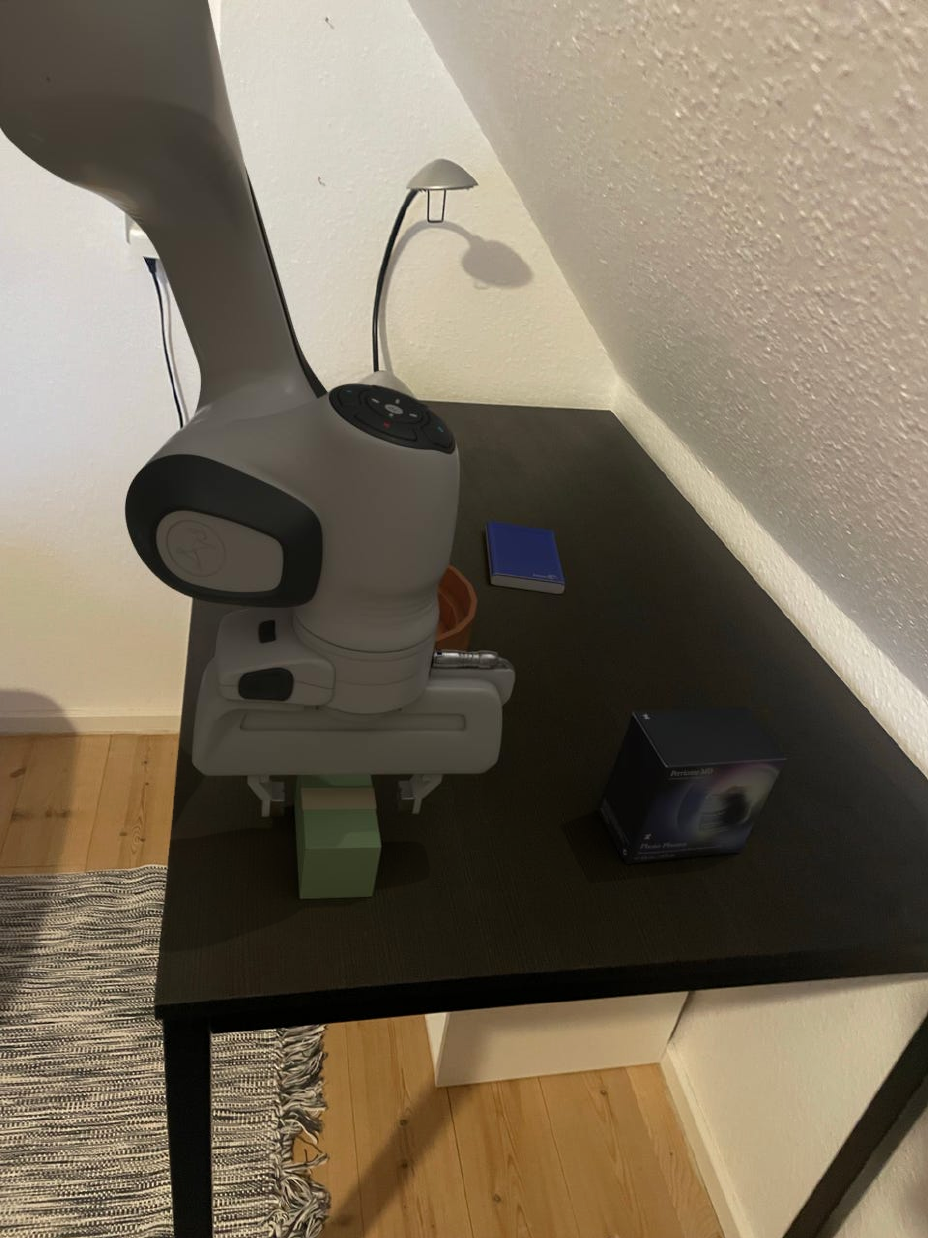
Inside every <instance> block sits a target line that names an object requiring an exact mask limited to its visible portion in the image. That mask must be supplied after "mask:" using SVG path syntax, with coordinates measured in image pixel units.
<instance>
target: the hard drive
mask: <svg viewBox="0 0 928 1238" xmlns="http://www.w3.org/2000/svg"><path fill="white" fill-rule="evenodd" d="M485 539H486V549H487V559H488V569H489V578H490V584H491V585H493V586H498V587H504V588H511V589H512V588H513V589H519V590H527V591H534V592H541V593H548V594H555V595H561V594H564V592H565V587H566V581H565V577H564V574H563V569H562V564H561V561H560V556H559V552H558V547H557V543H556V540H555V533H554V531H552V530H550V529H545V528H538V527H533V526H532V527H531V526H525V525H519V524H511V523H504V522H497V521H487V522H486V526H485Z"/></svg>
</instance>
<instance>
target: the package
mask: <svg viewBox="0 0 928 1238" xmlns="http://www.w3.org/2000/svg"><path fill="white" fill-rule="evenodd" d="M371 775H372V774H370V775H296V776H297V777H296V785H295V794H294V803H293V804H294V805H293V806H294V822H295V840H296V841H295V843H296V857H297V859H296V860H297V874H298V875H297V877H298V895H299V900H312V899H313V900H314V899H316V900H317V899H345V898H370V897H371V898H372V897H373V895H374V890H375V884H376V879H377V874H378V867H379V863H380V857H381V851H382V841H381V834H380V829H379V823H378V822H379V821H378V815H377V809H378V807H377V806H378V805H377V800H376V793H375V787H373V782H372V776H371Z"/></svg>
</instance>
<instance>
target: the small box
mask: <svg viewBox="0 0 928 1238" xmlns="http://www.w3.org/2000/svg"><path fill="white" fill-rule="evenodd" d="M786 761H787V757H786V755H785V754H784V752H783V751H782V750H781V748H780V747H779V745H778V744H777V743H776V742H775V740H774V739H773V738H772V737H771V735H770V734H769V733H768V732H767V730H766V729H765V728H764V726H763V725H762V723H760V721H759V719H757V717H756V716H755V715H754V713H753V712H752V711H751V709H750V708H749V707H748V706H747V705H744V706H729V707H727V706H725V707H724V706H723V707H704V708H703V707H702V708H682V709H661V710H660V709H657V710H635V711H632V712H631V714H630V718H629V722H628V725H627V728H626V731H625V733H624V736H623V738H622V741H621V743H620V747H619V750H618V752H617V755H616V757H615V760H614V763H613V766H612V768H611V771H610V773H609V776H608V779H607V782H606V785H605V788H604V790H603V792H602V793H601V794H602V795H601V797H600V800H598V801H599V802H598V804H597V806H596V808H595V809H596V810H597V813H598V815H599V816H600V818H601V819H602V822H603V823H604V824H605V827H606V829H607V830H608V833H609V835H610V836H611V838H612V840H613V842H614V844H615V848H616V849H617V851H618V852H619V854H620V856H621V858H622V860H623V861H624V863H625V864H628V865H631V864H641V863H651V862H660V861H669V860H671V861H672V860H681V859H690V858H700V857H701V858H702V857H710V856H711V857H712V856H720V855H721V856H722V855H731V854H740V853H741V851H742V849H743V847H744V845H745V843H746V842H747V839H748V837H749V835H750V833H751V831H752V829H753V827H754V825H755V823H756V821H757V818H758V817H759V814H760V813H761V811H762V808H763V807H764V804H765V803H766V800H767V799H768V796H769V794H770V792H771V791H772V789H773V787H774V785H775V784H776V783H775V782H776V780H777V778H778V777H779V775H780V772H781V771H782V768H783V767H784V765H785V762H786Z"/></svg>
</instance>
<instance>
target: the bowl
mask: <svg viewBox="0 0 928 1238" xmlns="http://www.w3.org/2000/svg"><path fill="white" fill-rule="evenodd" d="M437 597H438V603H439V623H438V628H437V634H436V639H435V644H434V649H439V650H458V651H466V652H468V647H469V643H470V639H471V634H472V629H473V625H474V620H475V615H476V611H477V607H478V598H477V596H476V592H475V590H474V586H473V585H472V584H471V582H470V581H469V580H468V579H467V578H466V577H465V576H464V575H463V574H462V572H461V571H460V570H459V569H457V568H456V567H454V566H453V565H451V564H449V565H448V567H447V570H446V572H445V573H444V575H443V577H442V579H441V580H440V583H439V587H438V593H437Z"/></svg>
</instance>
